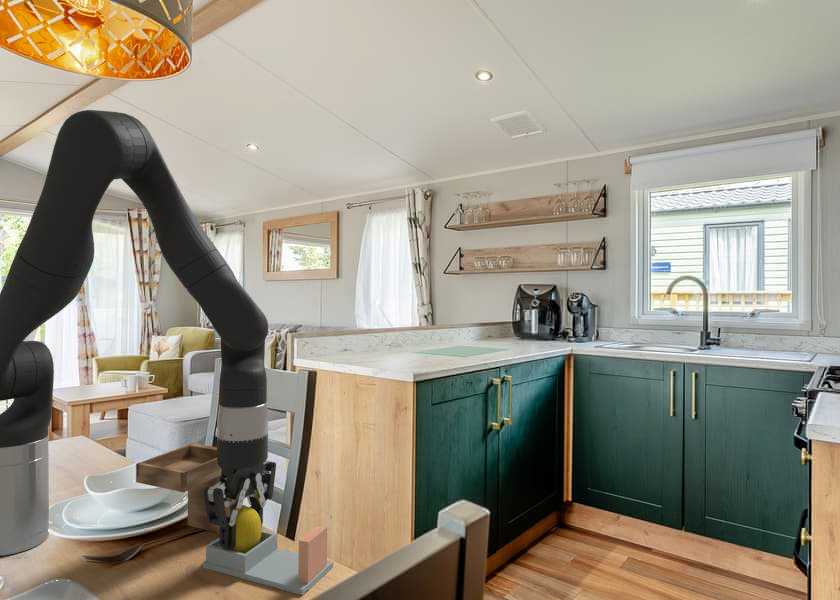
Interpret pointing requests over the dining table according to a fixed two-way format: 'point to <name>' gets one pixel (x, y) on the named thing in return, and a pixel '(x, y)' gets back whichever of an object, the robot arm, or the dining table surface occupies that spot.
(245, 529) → the lemon
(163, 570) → the dining table surface
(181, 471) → the shelf
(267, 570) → the grey tray holder base
